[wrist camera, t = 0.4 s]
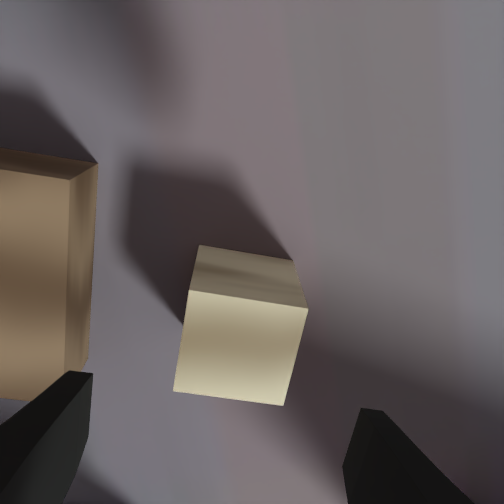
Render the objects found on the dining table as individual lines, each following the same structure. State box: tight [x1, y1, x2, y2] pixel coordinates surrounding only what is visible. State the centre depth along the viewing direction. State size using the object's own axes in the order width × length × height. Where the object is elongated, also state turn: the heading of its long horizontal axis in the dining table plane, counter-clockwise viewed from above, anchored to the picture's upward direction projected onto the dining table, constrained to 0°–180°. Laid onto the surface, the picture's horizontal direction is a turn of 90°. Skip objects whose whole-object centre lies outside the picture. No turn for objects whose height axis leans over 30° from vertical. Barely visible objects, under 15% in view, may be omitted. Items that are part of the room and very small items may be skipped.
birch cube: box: [173, 245, 309, 406], centre depth 20 cm, size 4×4×5 cm
